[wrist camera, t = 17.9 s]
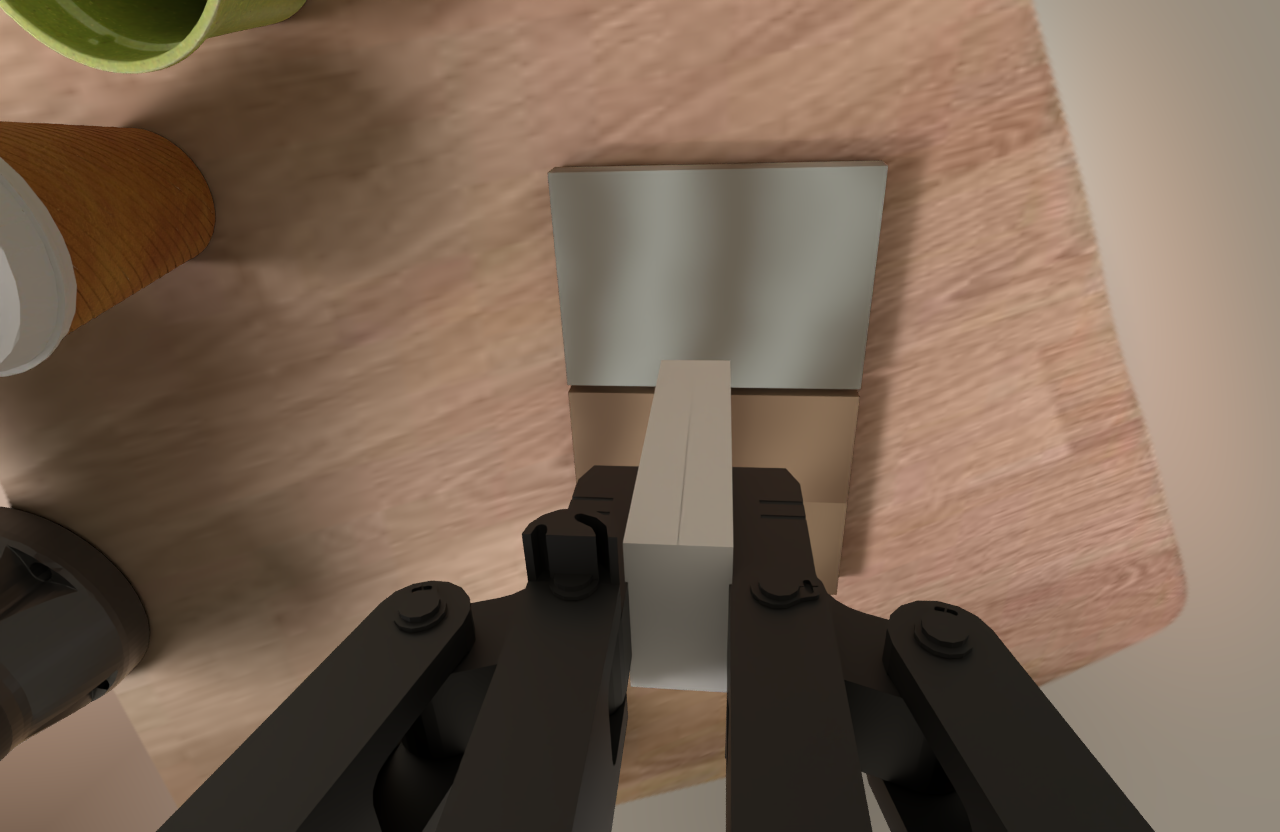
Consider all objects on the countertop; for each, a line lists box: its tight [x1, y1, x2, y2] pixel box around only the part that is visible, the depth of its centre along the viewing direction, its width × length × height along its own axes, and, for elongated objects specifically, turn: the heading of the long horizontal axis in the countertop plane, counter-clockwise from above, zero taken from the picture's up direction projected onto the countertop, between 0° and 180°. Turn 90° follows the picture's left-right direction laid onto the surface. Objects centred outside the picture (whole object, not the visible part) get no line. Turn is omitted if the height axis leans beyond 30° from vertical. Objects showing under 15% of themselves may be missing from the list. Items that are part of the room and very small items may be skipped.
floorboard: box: [568, 385, 860, 595], centre depth 37 cm, size 14×12×1 cm
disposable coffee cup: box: [0, 121, 215, 377], centre depth 29 cm, size 10×10×12 cm
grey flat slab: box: [548, 160, 888, 389], centre depth 32 cm, size 14×10×1 cm
